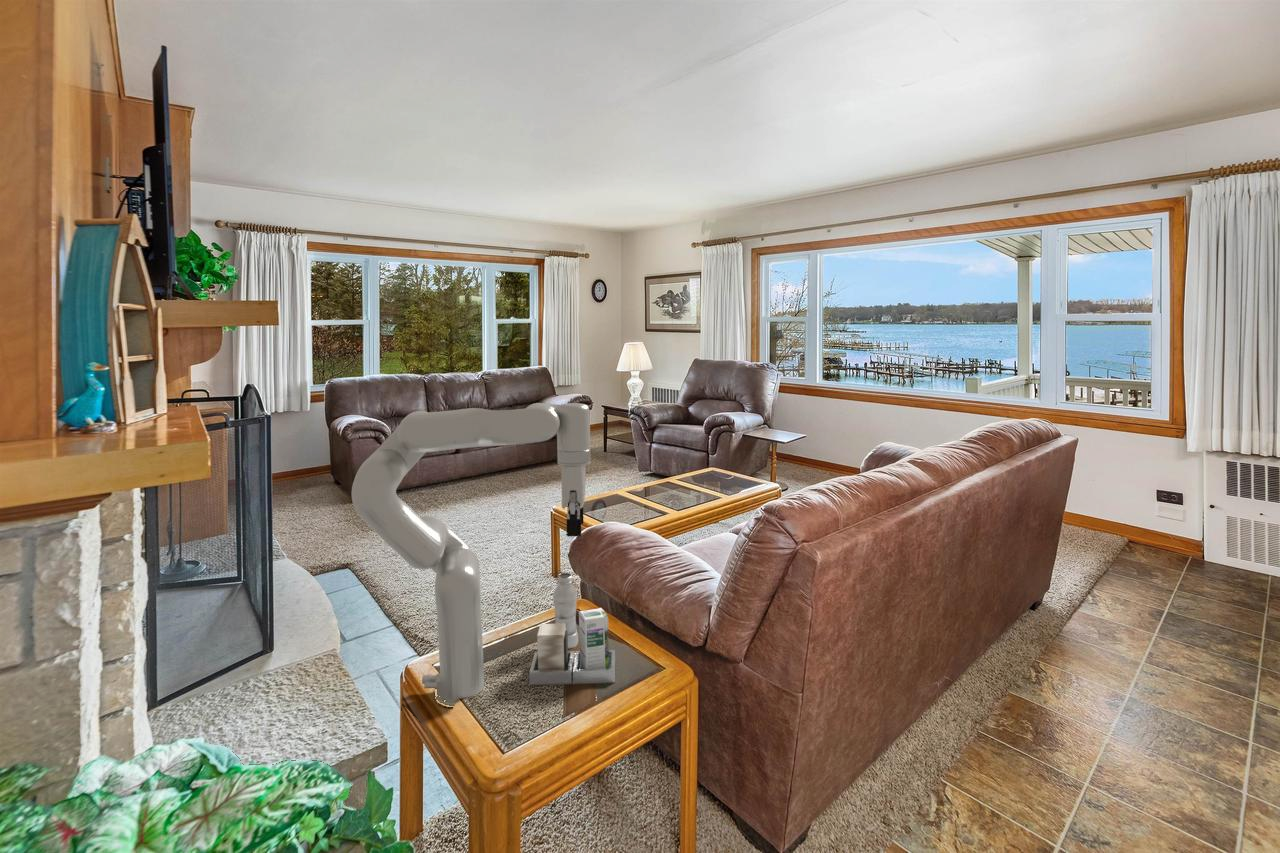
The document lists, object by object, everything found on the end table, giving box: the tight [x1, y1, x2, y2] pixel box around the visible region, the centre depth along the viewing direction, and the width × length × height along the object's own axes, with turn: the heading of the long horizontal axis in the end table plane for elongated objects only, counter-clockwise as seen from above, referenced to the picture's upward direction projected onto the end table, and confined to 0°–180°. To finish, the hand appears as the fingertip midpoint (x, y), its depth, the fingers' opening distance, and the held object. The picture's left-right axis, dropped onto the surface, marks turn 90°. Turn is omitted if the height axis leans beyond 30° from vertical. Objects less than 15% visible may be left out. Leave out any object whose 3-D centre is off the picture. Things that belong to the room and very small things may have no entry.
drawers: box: [528, 649, 617, 686], centre depth 146 cm, size 20×10×4 cm, turn 92°
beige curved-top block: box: [536, 623, 569, 670], centre depth 145 cm, size 6×6×11 cm
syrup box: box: [578, 607, 610, 669], centre depth 145 cm, size 6×6×14 cm
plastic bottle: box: [552, 572, 580, 650], centre depth 160 cm, size 6×7×20 cm
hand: (575, 529), depth 143 cm, fingers open, 9 cm apart
